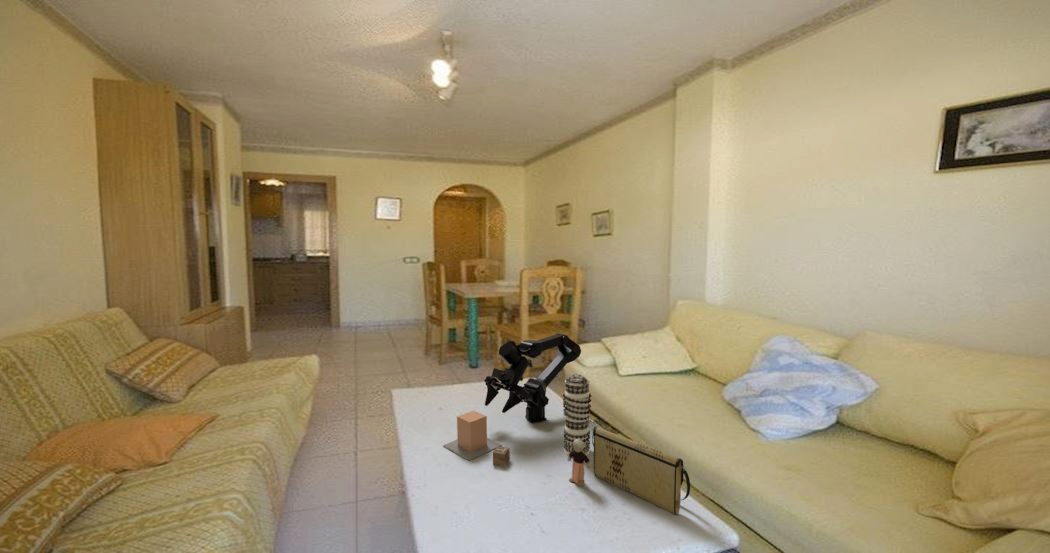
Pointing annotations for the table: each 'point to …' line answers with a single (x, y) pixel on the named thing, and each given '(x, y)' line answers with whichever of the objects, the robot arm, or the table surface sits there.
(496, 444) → the rubber mat
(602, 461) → the clutch purse
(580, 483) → the grandmother figurine
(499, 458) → the letter cube
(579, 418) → the decorative candle
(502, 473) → the table surface
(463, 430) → the tan cardboard box
